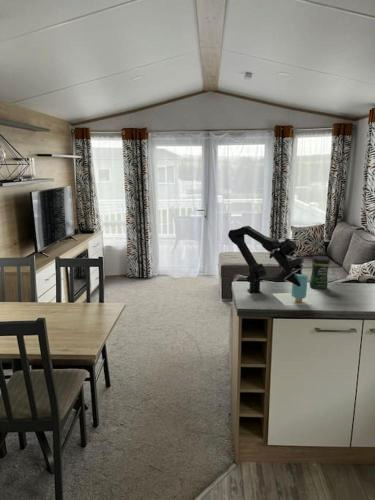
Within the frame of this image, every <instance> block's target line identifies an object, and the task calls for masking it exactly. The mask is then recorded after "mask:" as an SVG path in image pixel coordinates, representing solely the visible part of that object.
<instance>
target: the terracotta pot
mask: <svg viewBox="0 0 375 500" xmlns="http://www.w3.org/2000/svg"><path fill="white" fill-rule="evenodd" d="M295 302H297V303H302V298H295Z"/></svg>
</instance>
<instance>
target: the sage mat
mask: <svg viewBox="0 0 375 500" xmlns="http://www.w3.org/2000/svg"><path fill="white" fill-rule="evenodd" d="M272 296H273V297H275V299H277V300H278V301H279V302H281V303H282V304H283V305H284V306H302V305H303V306H306V305H308V306H309V305H312V303H311V302H309V301H308V300H307V299H306V298H302V303H297V302H295V298H294V297H293V296H292V292H283V293H279V292H278V293H272Z"/></svg>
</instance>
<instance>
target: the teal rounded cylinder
mask: <svg viewBox="0 0 375 500" xmlns="http://www.w3.org/2000/svg"><path fill="white" fill-rule="evenodd" d="M295 276H296V278H297V280H298V281H299V283H300V285H301V286H297V285H295V284H293V283H291V293H292V296H293V297H294V298H304V299H306V297H307V289H308V280H309V279H308V275H307V274H303V273H302V274H295Z"/></svg>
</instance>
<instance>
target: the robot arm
mask: <svg viewBox="0 0 375 500" xmlns="http://www.w3.org/2000/svg"><path fill="white" fill-rule="evenodd" d="M245 235H247V236H248V237H250V238H252V239H253V240H255V241H256V242H258V243H260V245H261V246H262V248H264V249H265V251H267V252H270V253H269V259H272V258H273V259H274V260H275V261H276V262H277V264H278V267H279V268H282V270H283V272H282V273H281V274H279V278H280V279H281V281H287V282H289V283H291V284H292V283H293V284H295V285H297V286H301V285H300V283H299V281H298V280H297V278H296V276H295V274H303V273H302V271H303V267H304V265H303V263H304V264H305V261H304V257H303V256H302V255H300V254H298V255H296V256H295V258H293V259H292V258H291V257H288V256H289V255H291V254H293V252H294V251H296V250H297V248H298V245H297V243H296V242H294V241H293V240H291V238H286V239H285V240H284V241H283V242H281V241H279V240H278V239H276V238H274V237H269V236H266V235H264V234H262V233H261V232H259V231H258V230H256V229H254V228H253V227H251V226H250V225H245V226H244V225H243V226H241V227H240V228H235V229H230V230H229V231H228V234H227V236H228V239H229V240H230V241H231V242H232V244H234V245H236V247H237V248H238V250H239V251H240V253H241V254H240V255H242V257H243V259H244V261H245V262H246V264H247V266H248V272H249V275H248V276H247V277H246V282H248V283H249V288H248V289H247V292H248V293H250V294H260V293H261V294H262V293H263V292H262V291H261V282H262V281H264V278H265V277H266V276H267V271H266V268H265V267H264V265H263V264H262V263H258V262H257V261H256V258H255V257H254V255H253V254H252V252H251V250H250V248H249V247H248V245H247V243H246V241H245Z"/></svg>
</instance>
